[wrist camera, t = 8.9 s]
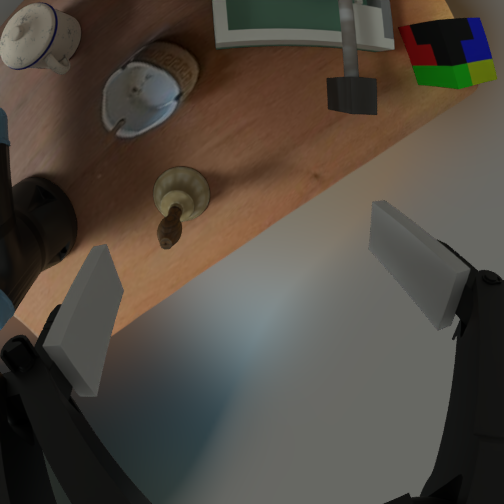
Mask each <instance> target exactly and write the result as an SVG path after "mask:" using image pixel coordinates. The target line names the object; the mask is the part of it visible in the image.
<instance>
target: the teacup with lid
mask: <svg viewBox="0 0 504 504" xmlns="http://www.w3.org/2000/svg"><path fill="white" fill-rule="evenodd" d="M80 38H81V28H80V24H79V22H78V21H77V20H76V19H75V18H74V17H72V16H70V15H68V14H66V13H63V12H61V11H59V10H56V9H54V8H53V7H52V6H51V5H49V4H47V3H34V4H30V5H28V6H26V7H24V8H22V9H21V10H20V11H18V12H17V13H16V14H15V15H14V16H13V17H12V18H11V20H10V21H9V22H8V24H7V25H6V27H5V29H4V31H3V34H2V37H1V41H0V54H1V58H2V60H3V62H4V63H5V64H6V65H7V66H8V67H10V68H12V69H15V70H21V69H26V68H43V69H51V70H53V71H54V72H55V73H57V74H61V75H62V74H65V73H67V72H68V71H69V69H70V62H69V59H70V58H71V56H72V55H73V54H74V53H75V51H76V49H77V47H78V45H79V42H80Z"/></svg>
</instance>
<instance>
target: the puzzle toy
mask: <svg viewBox="0 0 504 504" xmlns="http://www.w3.org/2000/svg"><path fill="white" fill-rule="evenodd" d="M398 29H399V31H400V34H401V36H402V39H403V41H404V44H405V47H406V49H407V52H408V55H409V58H410V61H411V64H412V67H413V70H414V73H415V76H416V79H417V83H418V85H426V86H436V87H445V88H453V89H461V88H465V87H469V86H472V85H476V84H480V83H484V82H488V81H492V80H496V79H497V76H496V72H495V67H494V64H493V59H492V56H491V52H490V49H489V45H488V42H487V38H486V35H485V32H484V29H483V26H482V23H481V21H480V18H458V19H444V20H434V21H428V22H423V23H417V24H412V25H407V26H403V27H398Z"/></svg>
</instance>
